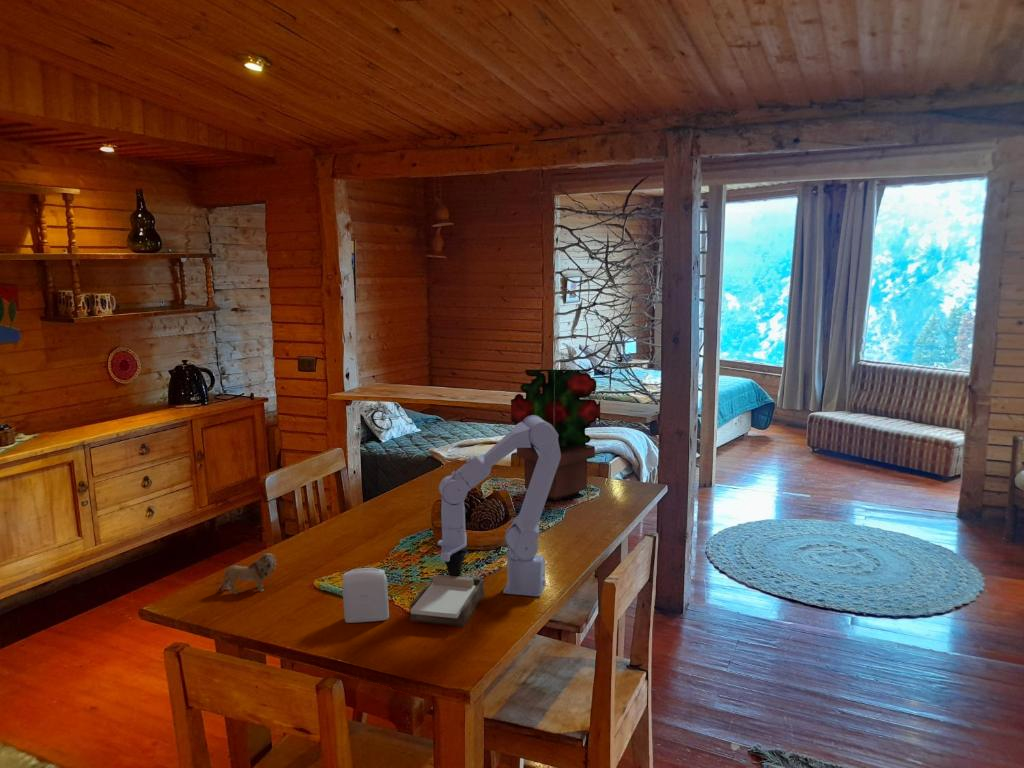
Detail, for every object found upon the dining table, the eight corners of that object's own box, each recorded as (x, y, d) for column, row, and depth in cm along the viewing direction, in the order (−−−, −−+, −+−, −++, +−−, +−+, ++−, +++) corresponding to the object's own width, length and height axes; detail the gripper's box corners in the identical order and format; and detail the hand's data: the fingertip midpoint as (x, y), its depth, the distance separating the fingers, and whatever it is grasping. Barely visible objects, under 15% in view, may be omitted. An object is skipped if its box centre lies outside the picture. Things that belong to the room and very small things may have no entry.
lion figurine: (277, 581, 191) (275, 549, 190) (278, 590, 186) (275, 556, 185) (217, 589, 187) (215, 556, 185) (216, 598, 182) (213, 564, 180)
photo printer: (343, 624, 168) (340, 574, 166) (345, 616, 172) (342, 566, 170) (388, 622, 169) (386, 571, 167) (389, 613, 173) (387, 564, 171)
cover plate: (433, 585, 180) (432, 574, 180) (475, 589, 178) (475, 578, 177) (410, 613, 166) (410, 601, 166) (456, 618, 163) (456, 605, 163)
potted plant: (557, 481, 276) (556, 363, 269) (599, 494, 259) (600, 369, 252) (512, 493, 262) (510, 369, 255) (554, 508, 246) (553, 376, 238)
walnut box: (435, 589, 185) (434, 574, 184) (484, 594, 182) (484, 579, 181) (410, 621, 169) (409, 605, 168) (464, 626, 166) (463, 610, 165)
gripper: (447, 514, 185) (448, 564, 188) (427, 534, 171) (429, 589, 174) (474, 516, 184) (475, 567, 186) (456, 536, 170) (457, 591, 172)
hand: (455, 577), depth 180 cm, fingers closed
